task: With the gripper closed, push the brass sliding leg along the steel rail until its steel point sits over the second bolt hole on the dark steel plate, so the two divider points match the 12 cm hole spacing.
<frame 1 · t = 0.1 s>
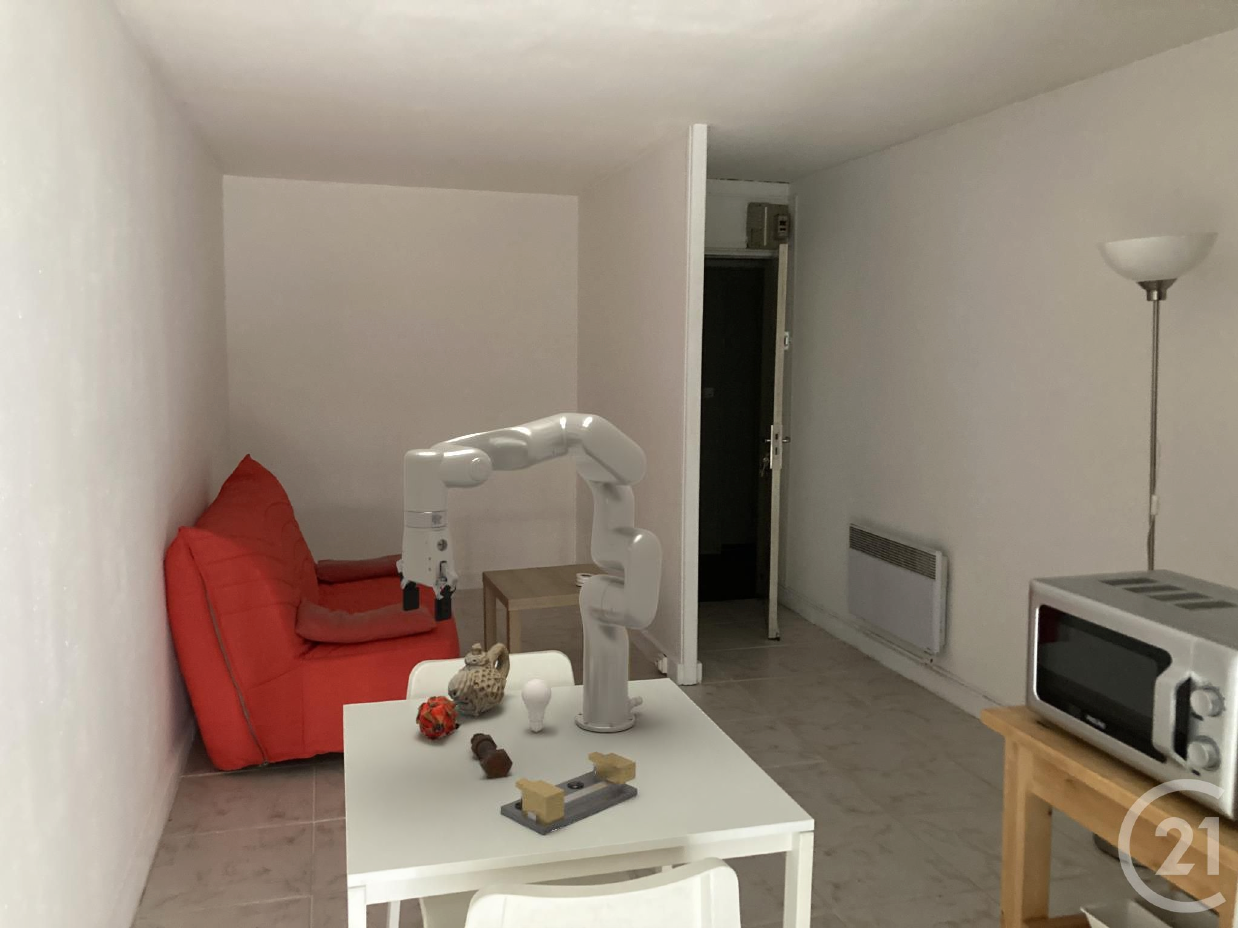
hand: (426, 614, 181), 31 cm above the table, tool pointing down, fingers open, 9 cm apart
hole plate: (570, 803, 176), on the table
bolt: (488, 764, 194), on the table
teapot: (479, 711, 222), on the table
lightbulb: (536, 732, 210), on the table
dragon fruit: (438, 736, 207), on the table
sliding leg: (609, 768, 182), point 4 cm above the table, slide at 0.0 cm
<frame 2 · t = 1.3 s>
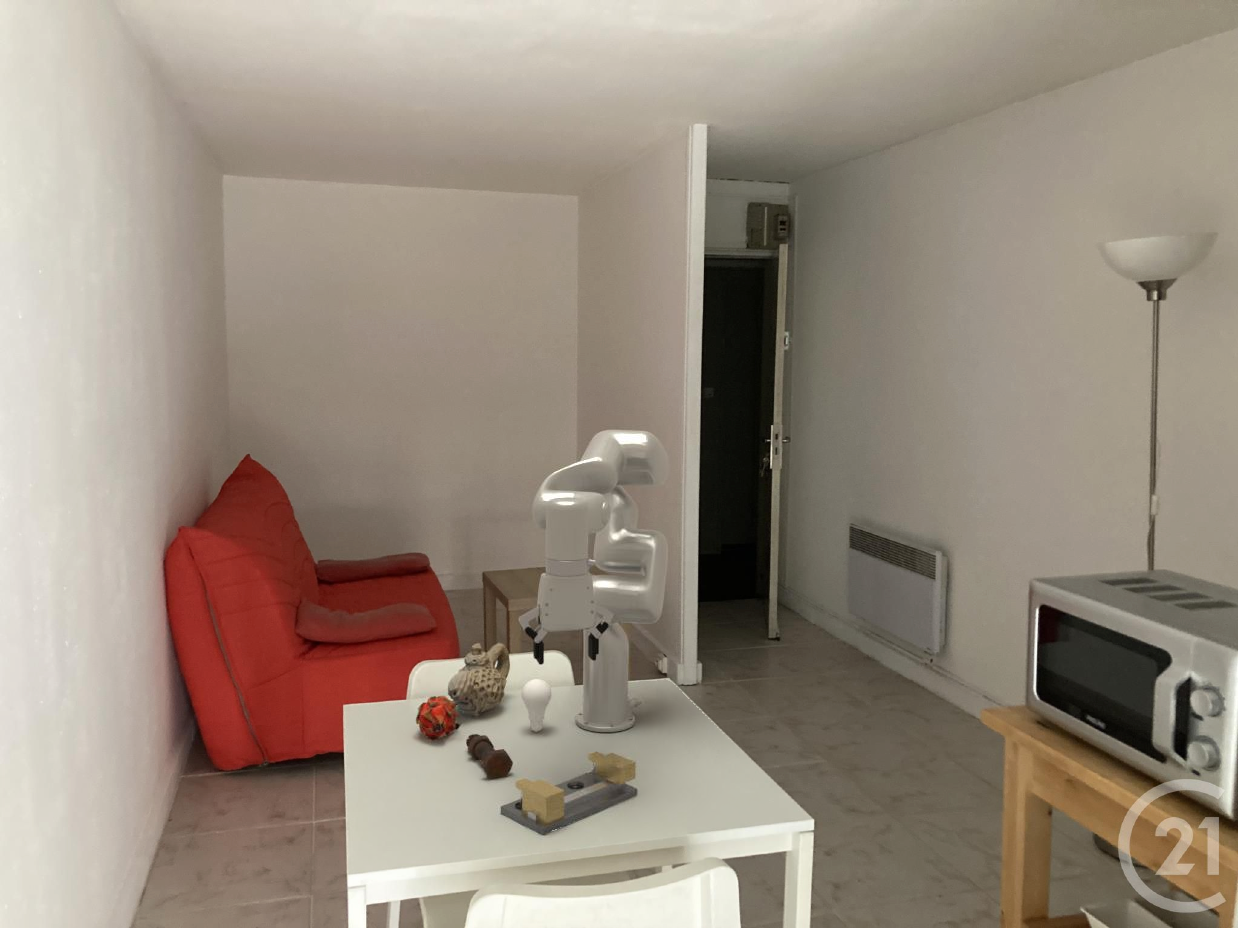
hand: (566, 660, 183), 23 cm above the table, tool pointing down, fingers open, 9 cm apart
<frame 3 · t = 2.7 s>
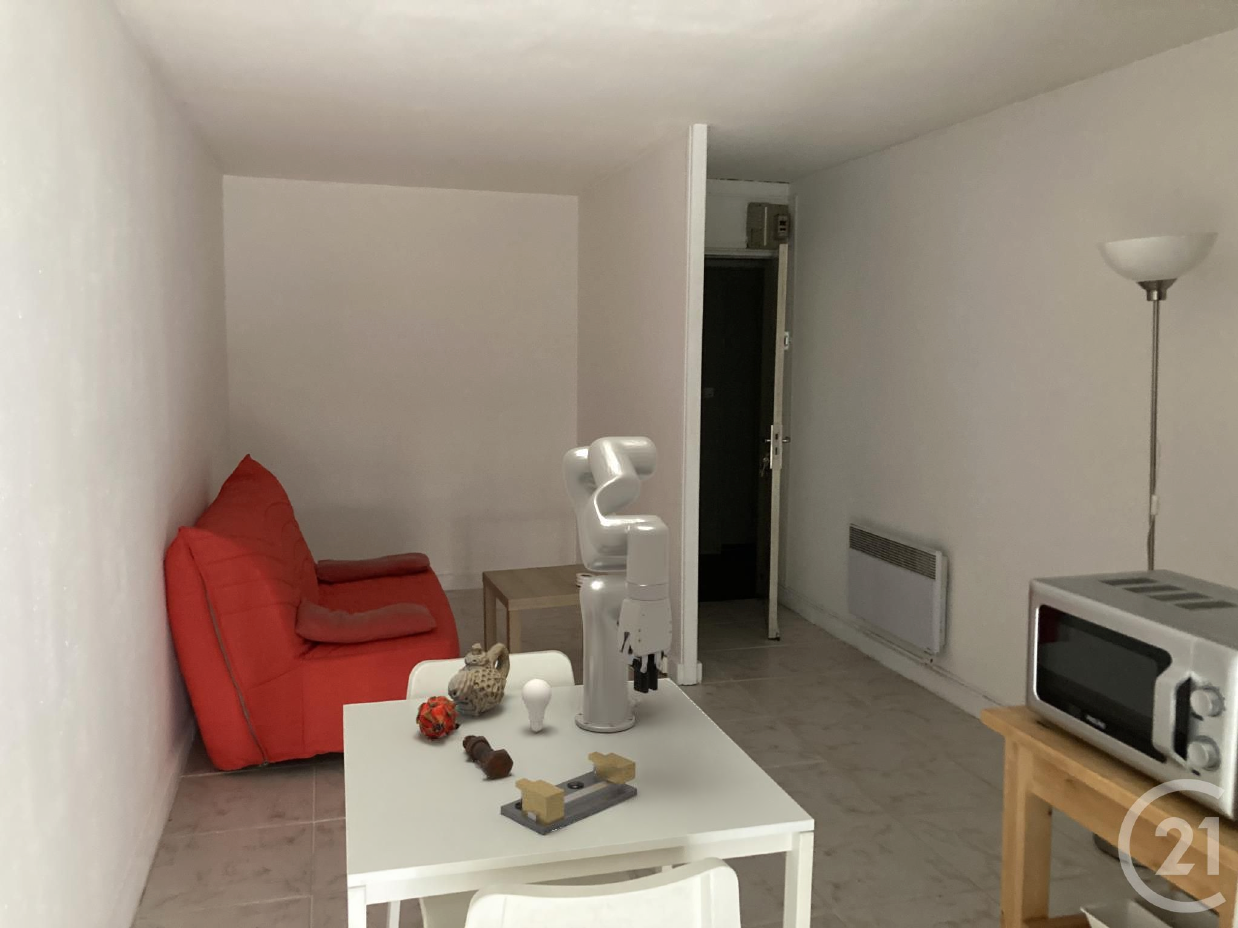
hand: (645, 689, 185), 17 cm above the table, tool pointing down, fingers closed
nothing on the table moved.
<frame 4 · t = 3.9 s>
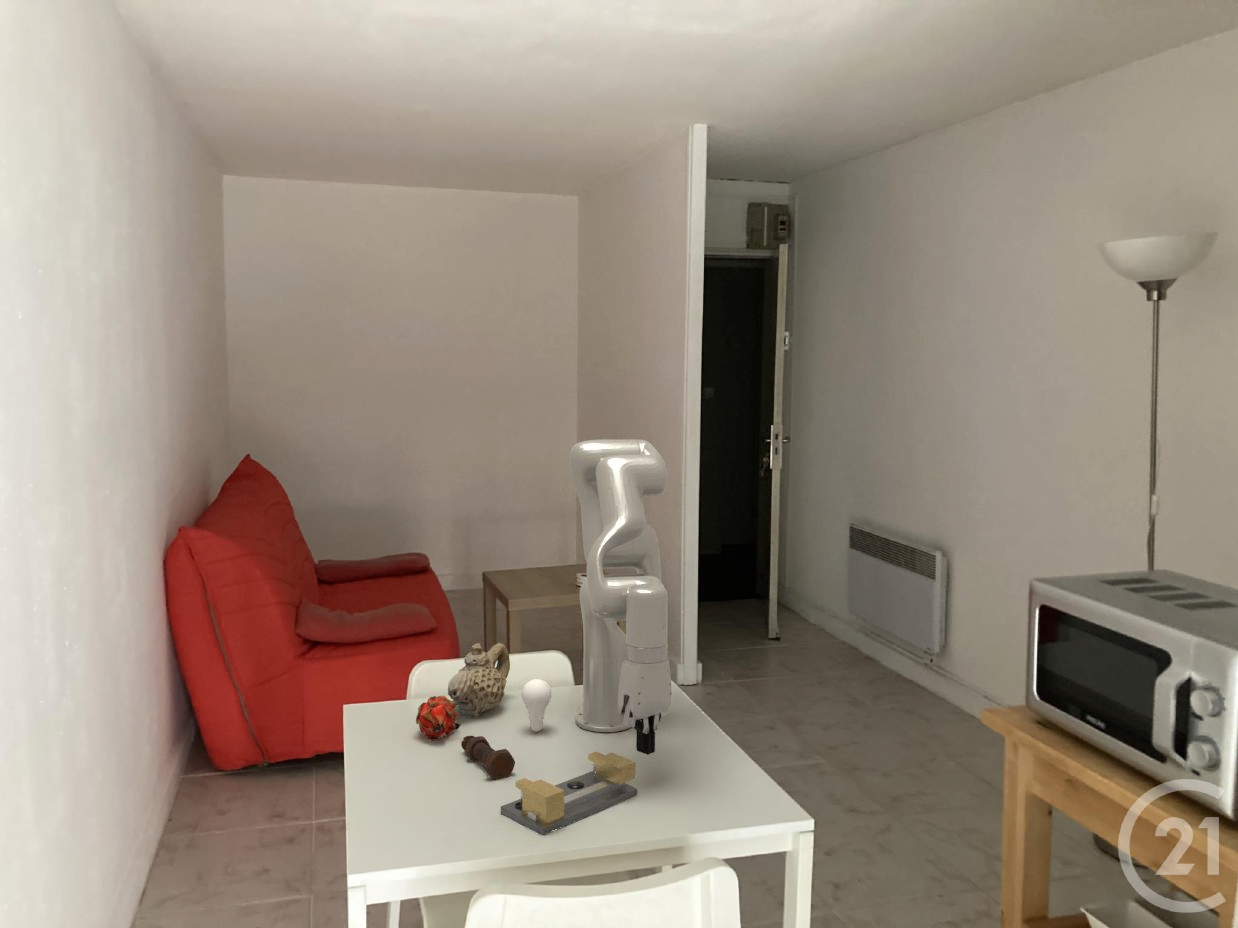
hand: (645, 751, 185), 6 cm above the table, tool pointing down, fingers closed
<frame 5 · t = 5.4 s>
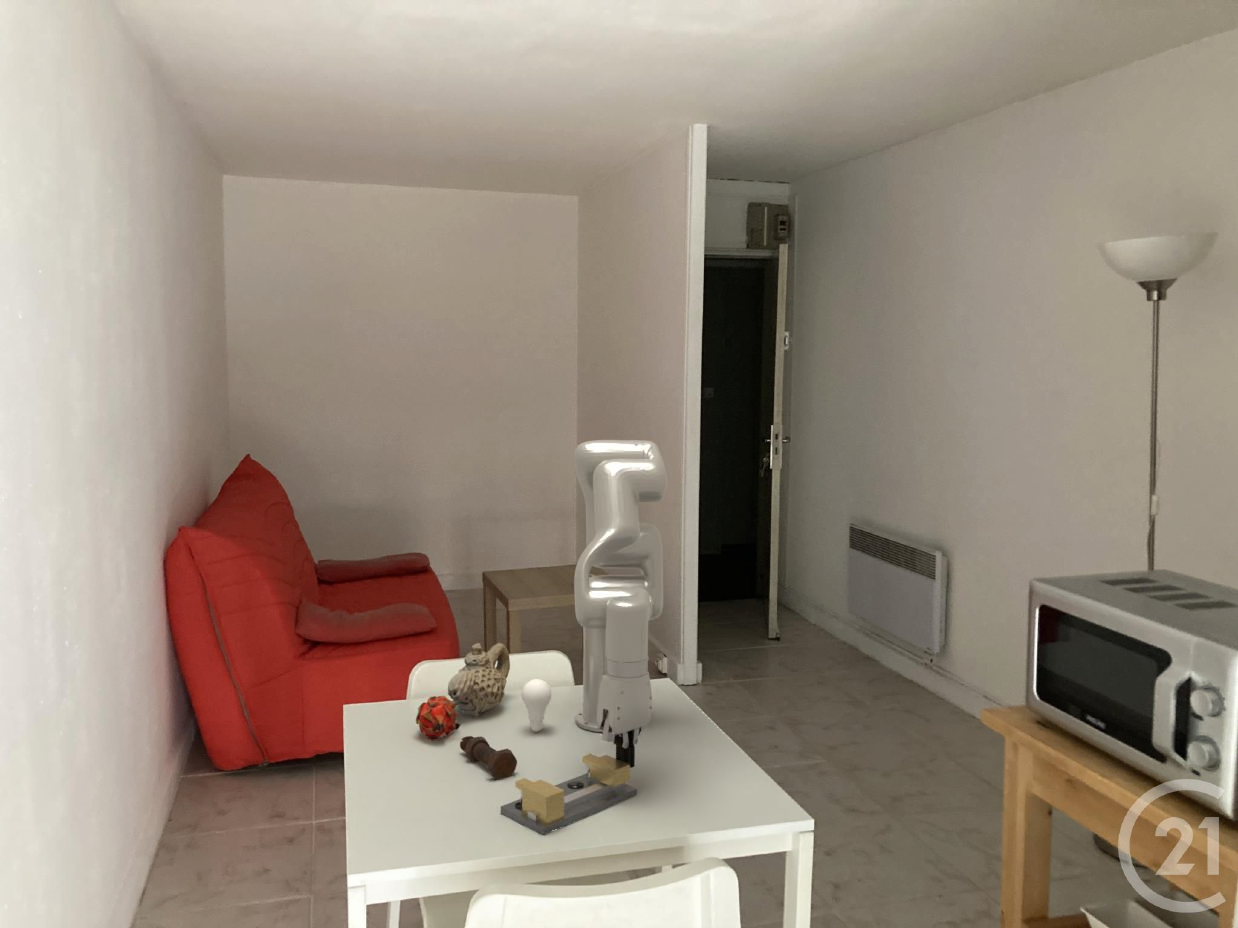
hand: (625, 765, 182), 4 cm above the table, tool pointing down, fingers closed
sliding leg: (603, 771, 181), point 4 cm above the table, slide at 1.5 cm, touching gripper
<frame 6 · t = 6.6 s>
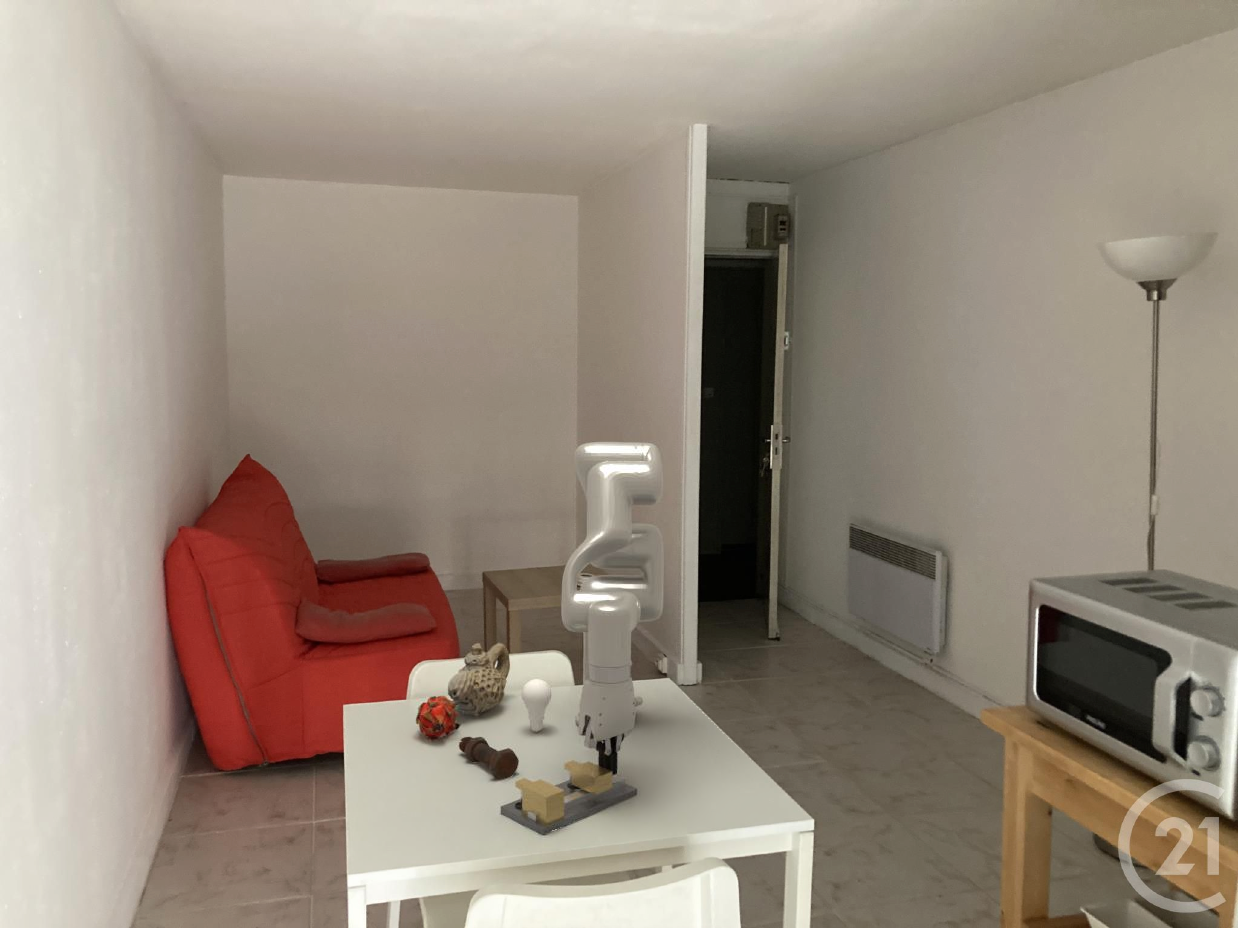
hand: (607, 772, 179), 4 cm above the table, tool pointing down, fingers closed
sliding leg: (585, 778, 178), point 4 cm above the table, slide at 5.8 cm, touching gripper
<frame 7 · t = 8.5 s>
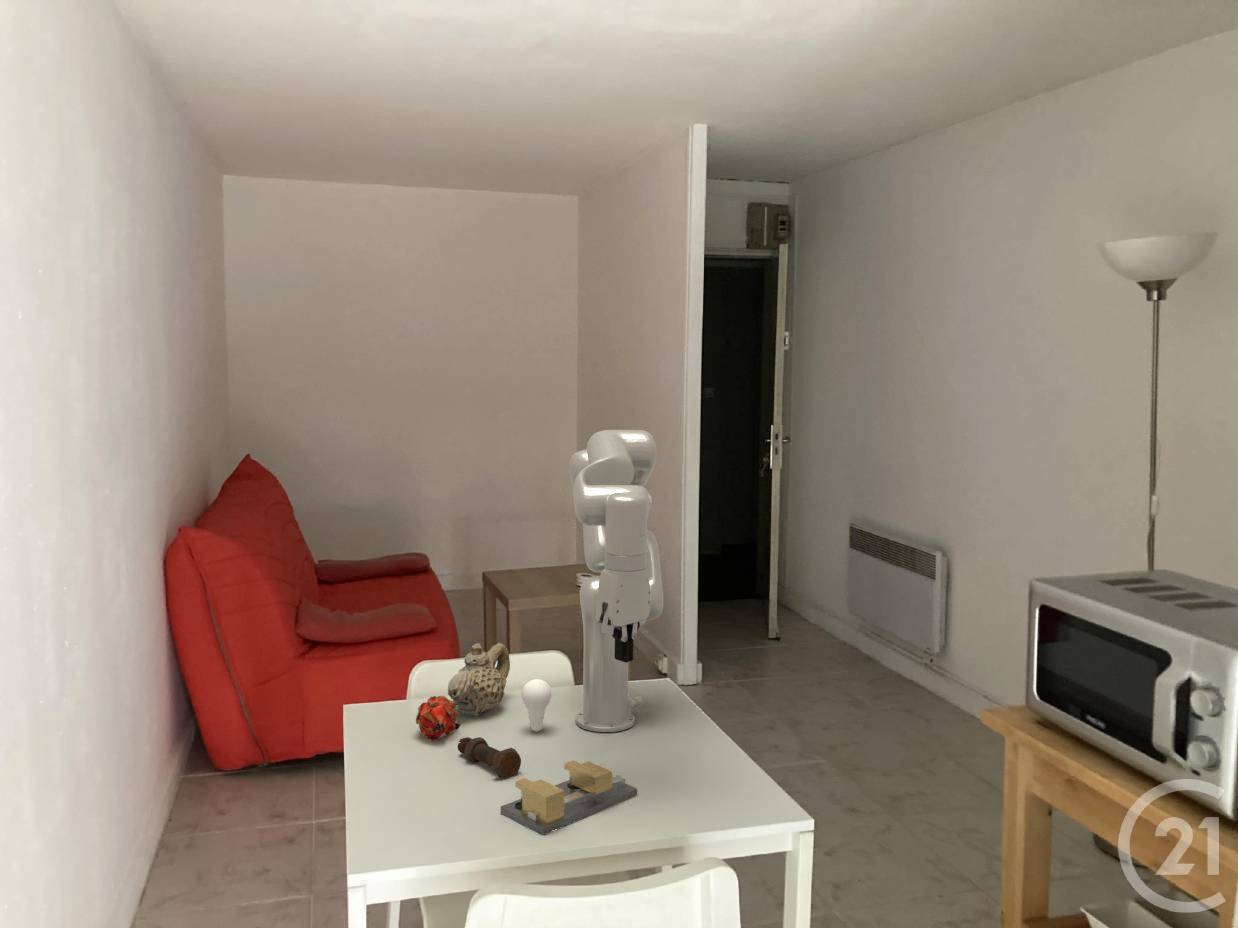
hand: (623, 659, 185), 22 cm above the table, tool pointing down, fingers closed
sliding leg: (585, 778, 178), point 4 cm above the table, slide at 5.8 cm
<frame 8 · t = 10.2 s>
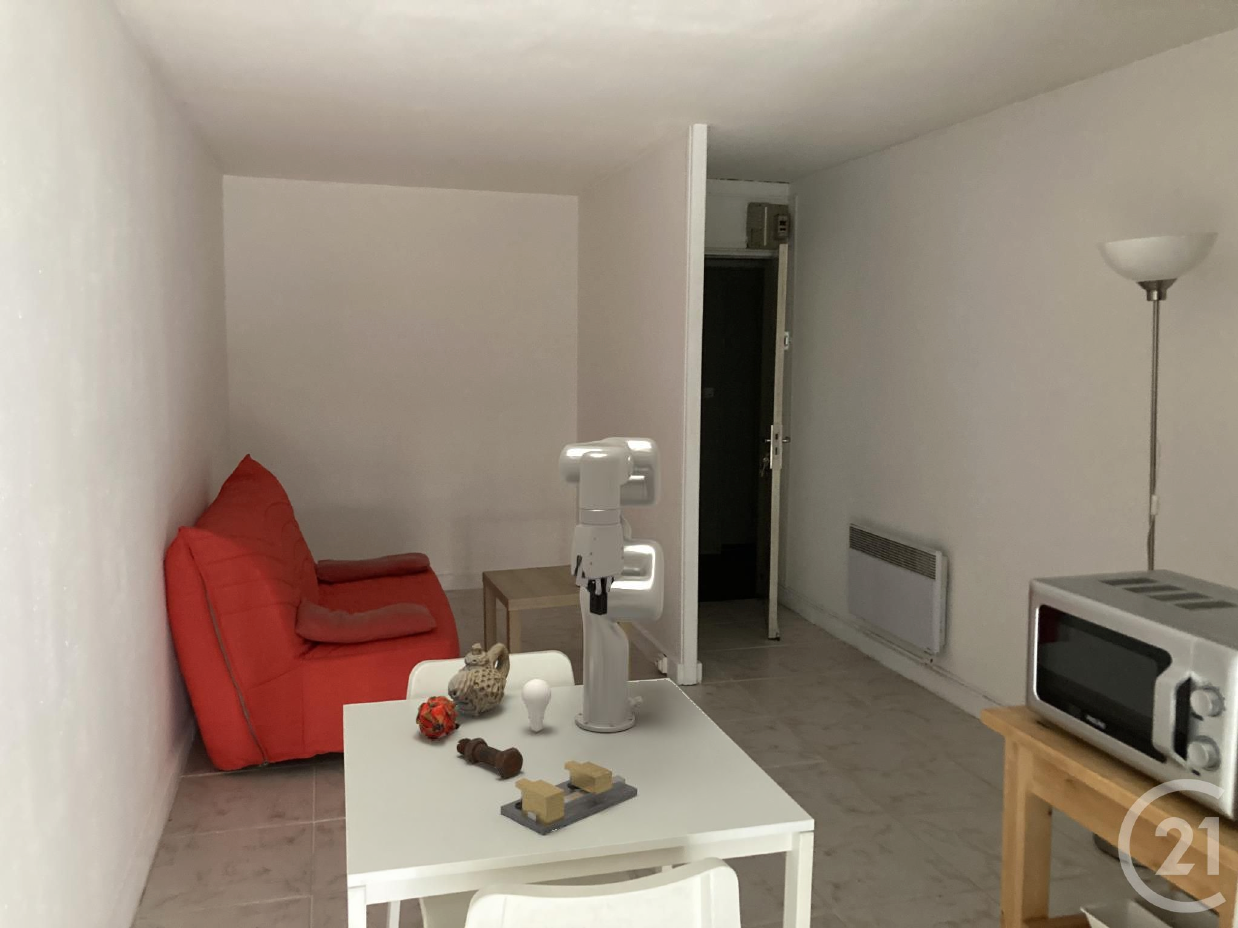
hand: (598, 613, 192), 29 cm above the table, tool pointing down, fingers closed
at the end: sliding leg slide at 5.8 cm; lightbulb moved 0.2 cm from its start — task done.
